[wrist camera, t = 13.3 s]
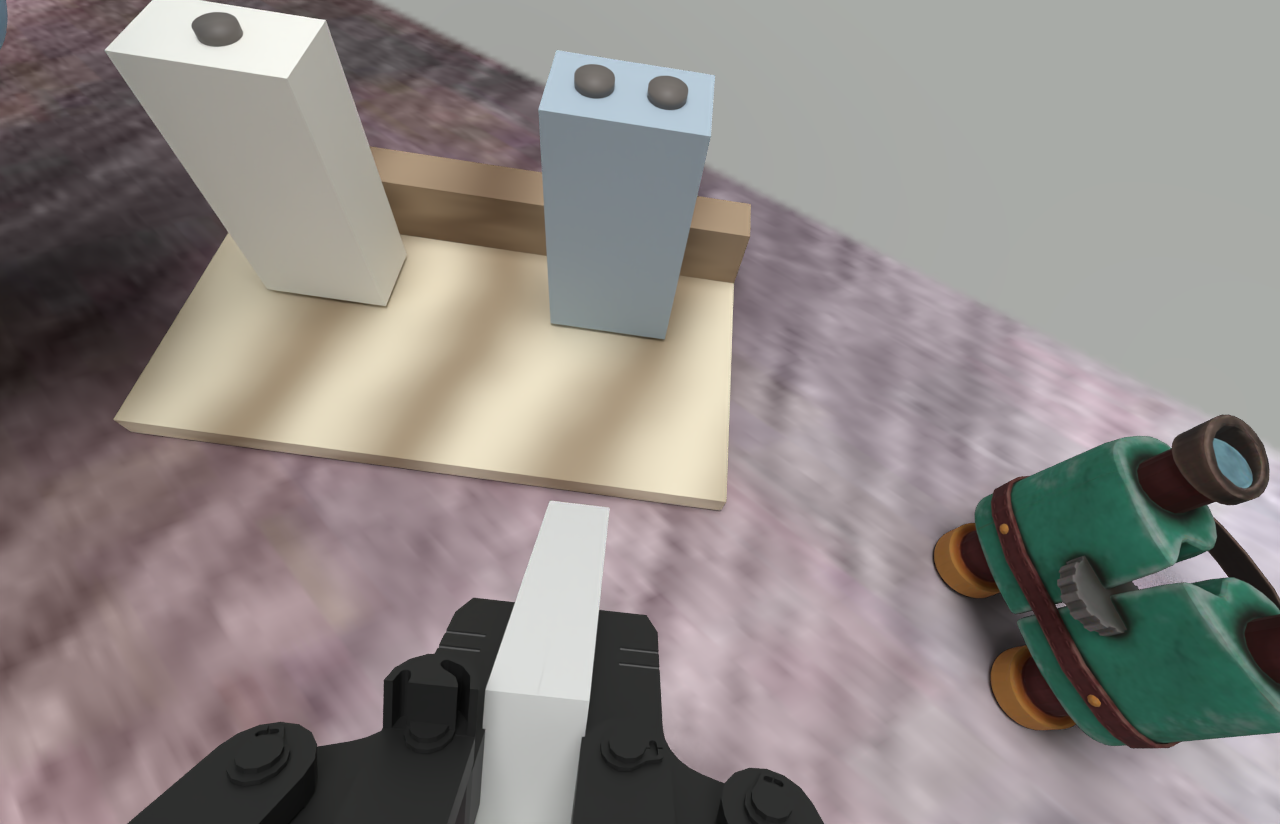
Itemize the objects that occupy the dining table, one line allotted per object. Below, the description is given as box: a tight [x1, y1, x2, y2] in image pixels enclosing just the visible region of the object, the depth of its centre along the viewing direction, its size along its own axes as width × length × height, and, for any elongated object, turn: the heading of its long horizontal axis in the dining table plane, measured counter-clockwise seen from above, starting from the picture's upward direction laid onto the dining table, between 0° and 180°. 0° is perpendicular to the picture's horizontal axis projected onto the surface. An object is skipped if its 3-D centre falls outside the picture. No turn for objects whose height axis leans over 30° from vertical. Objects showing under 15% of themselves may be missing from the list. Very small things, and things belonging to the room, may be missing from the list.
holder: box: [113, 146, 751, 511], centre depth 25 cm, size 23×13×4 cm, turn 84°
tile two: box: [539, 51, 715, 339], centre depth 22 cm, size 5×3×10 cm, turn 84°
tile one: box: [104, 0, 407, 306], centre depth 22 cm, size 5×3×10 cm, turn 84°
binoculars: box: [934, 415, 1280, 748], centre depth 19 cm, size 9×11×10 cm
